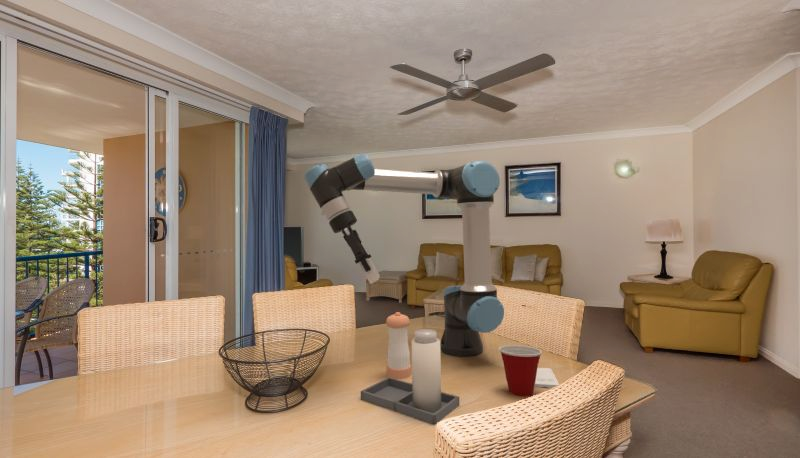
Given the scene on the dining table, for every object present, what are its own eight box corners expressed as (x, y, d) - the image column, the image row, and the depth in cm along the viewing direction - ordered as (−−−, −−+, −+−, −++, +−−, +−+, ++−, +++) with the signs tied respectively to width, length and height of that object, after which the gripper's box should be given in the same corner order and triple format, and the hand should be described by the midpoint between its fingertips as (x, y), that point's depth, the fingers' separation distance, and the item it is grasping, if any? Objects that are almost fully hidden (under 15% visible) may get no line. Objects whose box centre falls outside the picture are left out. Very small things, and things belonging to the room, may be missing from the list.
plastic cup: (542, 388, 102) (541, 343, 102) (543, 406, 92) (542, 356, 92) (500, 383, 106) (500, 340, 106) (497, 400, 95) (496, 352, 95)
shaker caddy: (388, 387, 104) (388, 376, 104) (459, 409, 91) (459, 396, 91) (360, 403, 95) (360, 391, 95) (434, 429, 82) (434, 415, 82)
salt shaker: (423, 398, 95) (421, 326, 95) (446, 406, 91) (445, 330, 91) (407, 409, 89) (405, 333, 90) (431, 417, 85) (430, 337, 85)
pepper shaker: (415, 374, 113) (414, 310, 113) (405, 384, 107) (404, 315, 107) (393, 371, 116) (392, 309, 116) (382, 380, 110) (381, 314, 110)
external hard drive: (551, 373, 114) (560, 390, 102) (522, 372, 116) (528, 389, 103) (551, 368, 114) (560, 384, 102) (522, 366, 116) (528, 383, 103)
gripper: (334, 225, 121) (366, 283, 120) (320, 217, 97) (361, 290, 95) (354, 214, 122) (387, 272, 121) (346, 203, 97) (387, 275, 96)
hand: (375, 280), depth 108 cm, fingers open, 13 cm apart
